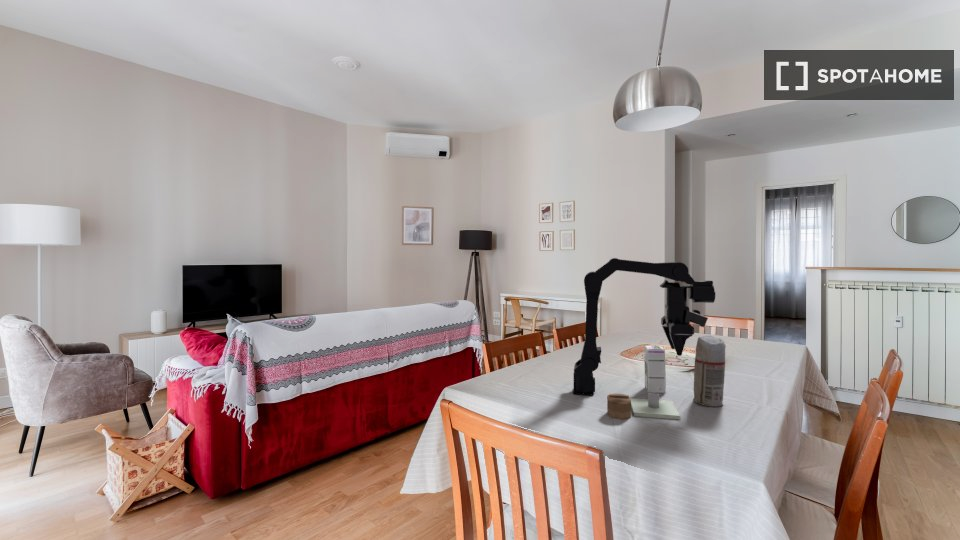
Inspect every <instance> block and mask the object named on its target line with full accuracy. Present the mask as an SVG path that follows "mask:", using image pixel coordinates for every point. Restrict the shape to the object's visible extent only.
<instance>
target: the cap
mask: <svg viewBox="0 0 960 540" xmlns="http://www.w3.org/2000/svg"><path fill="white" fill-rule="evenodd" d="M631 398H632V397H631V396H630V395H629V394H624V393H609V394H607V395H606V400H607V404H606V405H607V407H606V410H607V411H606V413H607V416H609V418H610V417H611V418H613V419H620V420H627V419H630V418H631V417H632V407H631Z"/></svg>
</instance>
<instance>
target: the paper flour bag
mask: <svg viewBox="0 0 960 540" xmlns="http://www.w3.org/2000/svg"><path fill="white" fill-rule="evenodd" d="M693 369H694V370H693V371H694V372H693V373H694V374H693V401H694V402H695V403H697V404H699V405H701V406H702V405H703V406H706V407H721V406H723V405H724V404H723V401H724V387H725V386H724V385H725V375H726V374H725V372H726V343H725V341H724V339H722V338H716V337H714V336H712V335H704V336H699V337H697V342H696V346H695V357H694V367H693Z"/></svg>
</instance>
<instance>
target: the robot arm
mask: <svg viewBox="0 0 960 540" xmlns="http://www.w3.org/2000/svg"><path fill="white" fill-rule="evenodd" d="M617 271H618V272H628V273H629V272H630V273H638V274H646V275H654V276H659V277H661V278H664V281H663V282H662V283H661V284H659V287H660V288H662V289H666V303H665V304H664V305H665V309H666V315H663V316H662V317H661V318H660V325H661V327H662V330H663V332H664V334H665V336H666V338H667V340H668V344H669V346H670V348H671V350H675V353H676V355H677V356H682V355H683V352H684V348H685V344H686V341H687V340H688V339H690V338H691V337H693V335H695V328H694V326H693V325H692V324H695V325H698V326H699V327H701V328H705V327H706V324H707V321H708V319H709V317H707V316H705V315H703V314H701V311H700V310H698V309H696V308H694V309H692V310H690V306H688V303H687V302H688V300H691V302H692V303H695V304H696V303H698V304H699V303H701V304H702V303H704V304H706V303H707V304H714V303H715V301H716V291H715V286H714V281H713V280H695V279H694V278H693V277H692V276H691V275H690V272H689V268H688V266H687V265H686V264H685V263H684V262H680V261H679V262H678V261H671V262H670V261H668V262H667V261H666V262H648V261H638V260H630V259H629V260H627V259H619V258H617V257H612V258H610V259H609V261H608V262H607V263H604V264H603V265H602V266H600V267H598V269H596V270H595V271H589V272H587V273H586V274H585V276H584V279H583V284H584V285H583V286H584V291H585V298H586V310H585V312H586V313H585V329H584V330H585V333H584V343H583V346H582V351H581V355H580V359H579V360H578V361H576V362H575V363H574V368H573V373H572V374H573V389H572V390H573V391H572V394H573V395H582V396H583V395H585V396H594V395H595V393H596V377H594V372H596V370H597V369H598V368H599V364H602V361H601V360H602V358H601V355H602V347H601V346H597V329H598V307H599V306H598V305H599V299H600V294H601V290H602V287H603V282H604V281H605V280H607V279H608V278H609V277H610V276H612V275H613V274H614V273H615V272H617ZM667 279H669V280H673V281H672V282H669V280H667ZM674 281H676V282H674ZM680 282H681V283H683V284H686V285H681V284H680ZM687 297H688V298H687ZM690 323H691V324H690Z"/></svg>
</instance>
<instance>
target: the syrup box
mask: <svg viewBox="0 0 960 540" xmlns="http://www.w3.org/2000/svg"><path fill="white" fill-rule="evenodd" d="M666 372H667V371H666V349H665V348H663V346H662V345H655V344H654V345H650V344H649V345H644V388H645V389H646V391H647V393H656V394H666V393H667V392H666V389H667V388H666V385H667V384H666V383H667V382H666V380H667V379H666Z"/></svg>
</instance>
